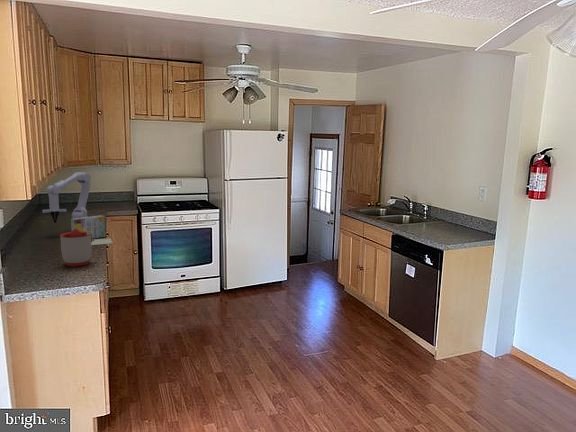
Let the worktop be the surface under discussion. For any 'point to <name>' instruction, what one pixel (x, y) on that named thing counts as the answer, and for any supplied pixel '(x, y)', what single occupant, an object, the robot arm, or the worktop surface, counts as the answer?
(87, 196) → the robot arm
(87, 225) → the snack box
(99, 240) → the mat
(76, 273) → the worktop surface
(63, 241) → the citrus juicer
